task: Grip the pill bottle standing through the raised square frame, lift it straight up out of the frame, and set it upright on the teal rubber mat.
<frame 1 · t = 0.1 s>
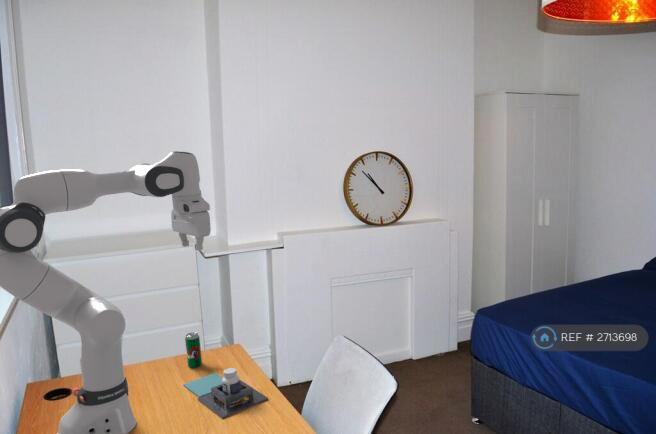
hand: (192, 248, 168), 48 cm above the table, tool pointing down, fingers open, 8 cm apart
soda can: (195, 366, 196), on the table
mat: (207, 385, 180), on the table
pill bottle: (232, 400, 169), resting in square frame
square frame: (232, 399, 169), on the table
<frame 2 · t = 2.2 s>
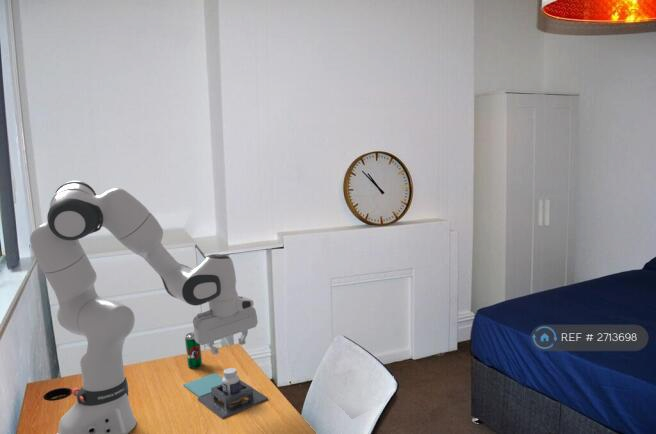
hand: (229, 348, 166), 17 cm above the table, tool pointing down, fingers open, 8 cm apart
nothing on the table moved.
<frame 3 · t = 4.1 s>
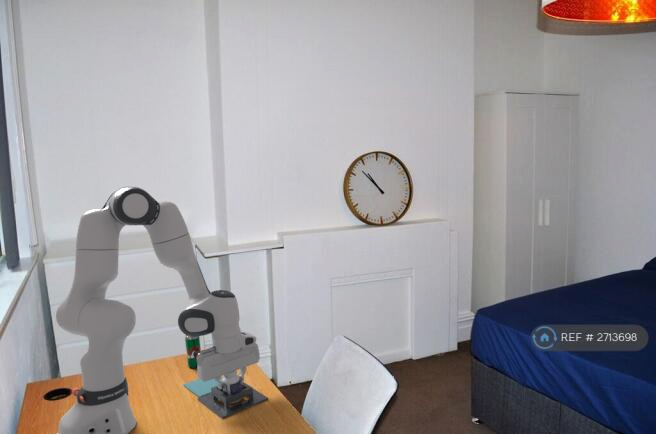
hand: (231, 384, 168), 5 cm above the table, tool pointing down, fingers closed on pill bottle, 5 cm apart
pill bottle: (232, 400, 169), resting in square frame, touching gripper
everything else where it was.
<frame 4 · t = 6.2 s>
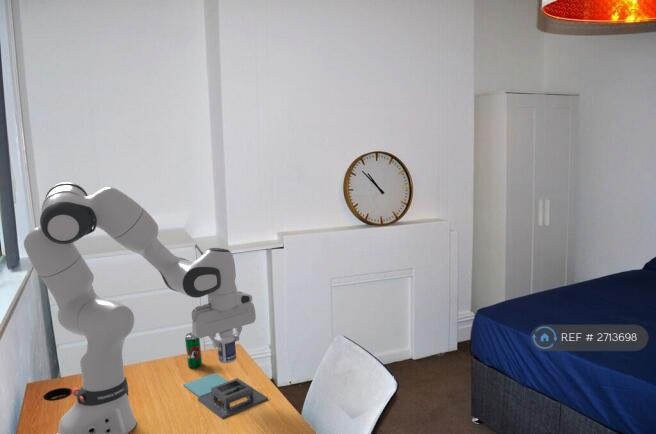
hand: (226, 343, 166), 19 cm above the table, tool pointing down, fingers closed on pill bottle, 5 cm apart
pill bottle: (227, 360, 166), point 13 cm above the table, touching gripper
everything else where it was.
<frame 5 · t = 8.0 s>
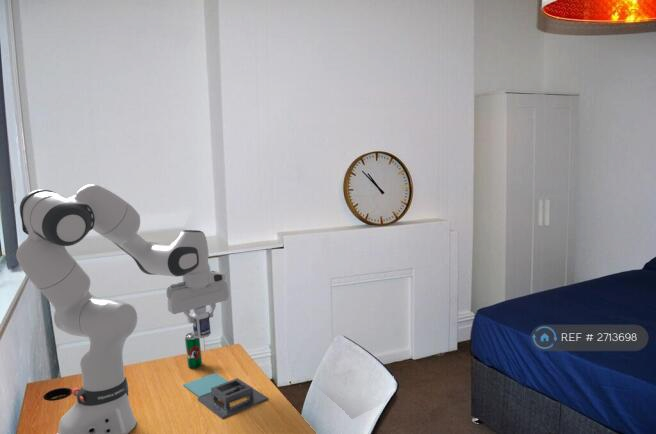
hand: (201, 319, 176), 23 cm above the table, tool pointing down, fingers closed on pill bottle, 5 cm apart
pill bottle: (202, 336, 177), point 17 cm above the table, touching gripper
everything else where it was.
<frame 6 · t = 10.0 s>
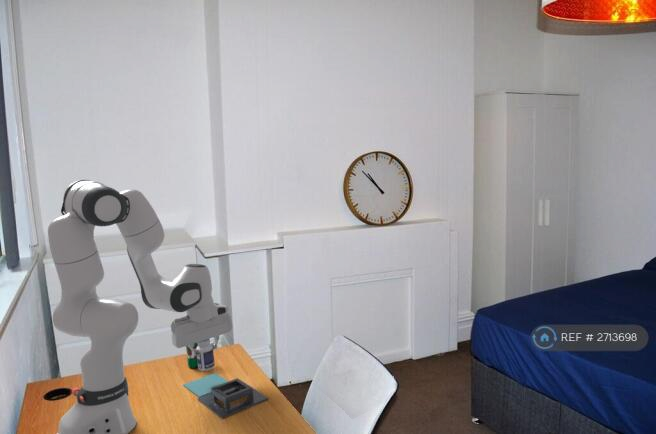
hand: (205, 352, 178), 12 cm above the table, tool pointing down, fingers closed on pill bottle, 5 cm apart
pill bottle: (206, 368, 179), point 6 cm above the table, touching gripper
everything else where it was.
when the fingers open (7 cm above the table, at t = 11.9 s): pill bottle stays where it is, resting on mat.
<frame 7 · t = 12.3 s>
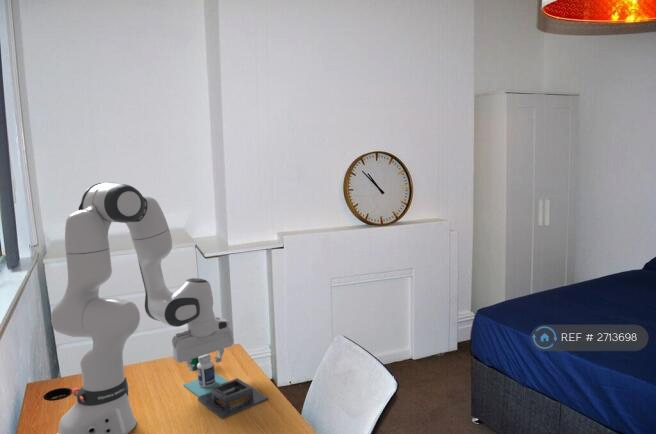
hand: (205, 366, 178), 7 cm above the table, tool pointing down, fingers open, 8 cm apart
pill bottle: (207, 384, 179), resting on mat
everything else where it was.
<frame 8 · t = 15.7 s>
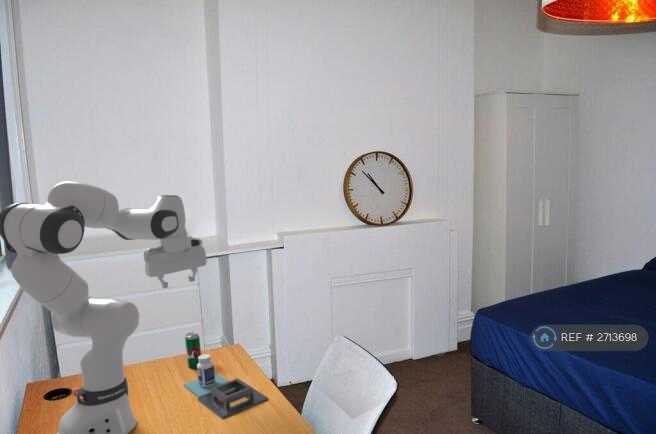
hand: (178, 284, 179), 34 cm above the table, tool pointing down, fingers open, 8 cm apart
nothing on the table moved.
at the end: pill bottle inside the target area on the mat (0.1 cm from its centre), point 0.3 cm above the mat's base; pill bottle tilted 0°; the gripper is holding nothing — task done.
